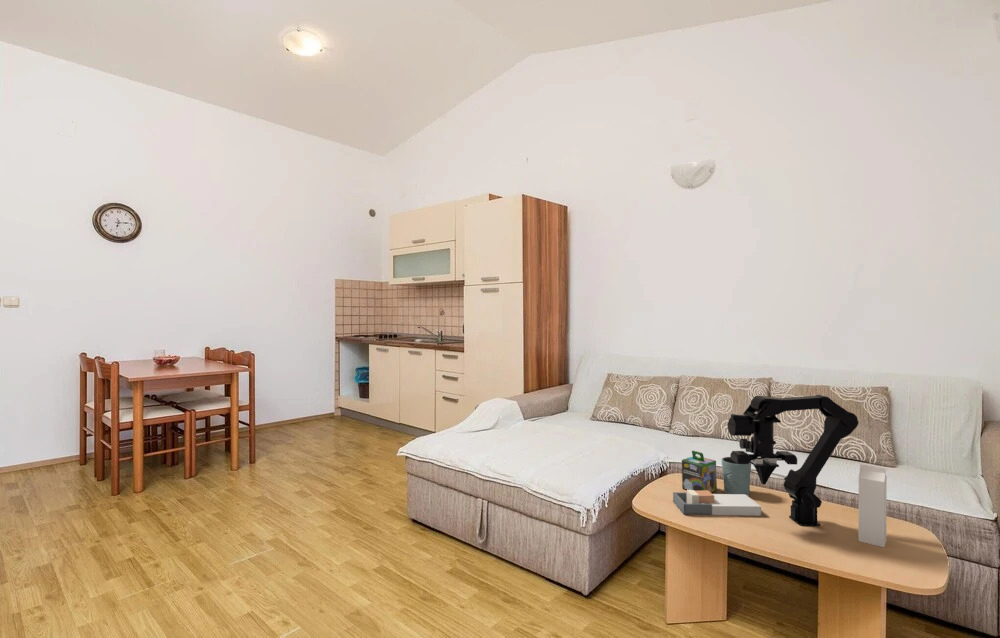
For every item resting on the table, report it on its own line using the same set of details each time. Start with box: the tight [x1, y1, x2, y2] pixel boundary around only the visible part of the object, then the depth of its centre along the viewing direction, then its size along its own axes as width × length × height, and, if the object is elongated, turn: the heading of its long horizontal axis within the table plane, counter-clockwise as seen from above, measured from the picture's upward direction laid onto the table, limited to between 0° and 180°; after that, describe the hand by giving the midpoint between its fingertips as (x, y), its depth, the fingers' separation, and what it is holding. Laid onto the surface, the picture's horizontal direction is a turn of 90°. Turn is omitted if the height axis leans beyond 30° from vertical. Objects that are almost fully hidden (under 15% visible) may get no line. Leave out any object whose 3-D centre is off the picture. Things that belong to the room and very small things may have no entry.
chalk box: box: [681, 450, 718, 493], centre depth 185 cm, size 9×9×15 cm
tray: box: [672, 491, 713, 516], centre depth 167 cm, size 9×11×4 cm
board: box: [702, 493, 762, 517], centre depth 167 cm, size 16×11×3 cm
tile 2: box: [695, 490, 714, 503], centre depth 167 cm, size 5×5×2 cm
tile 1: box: [685, 490, 699, 504], centre depth 167 cm, size 5×5×2 cm
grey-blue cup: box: [721, 456, 752, 497], centre depth 182 cm, size 10×10×12 cm
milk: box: [858, 464, 888, 548], centre depth 143 cm, size 6×6×22 cm
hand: (763, 484), depth 156 cm, fingers closed
